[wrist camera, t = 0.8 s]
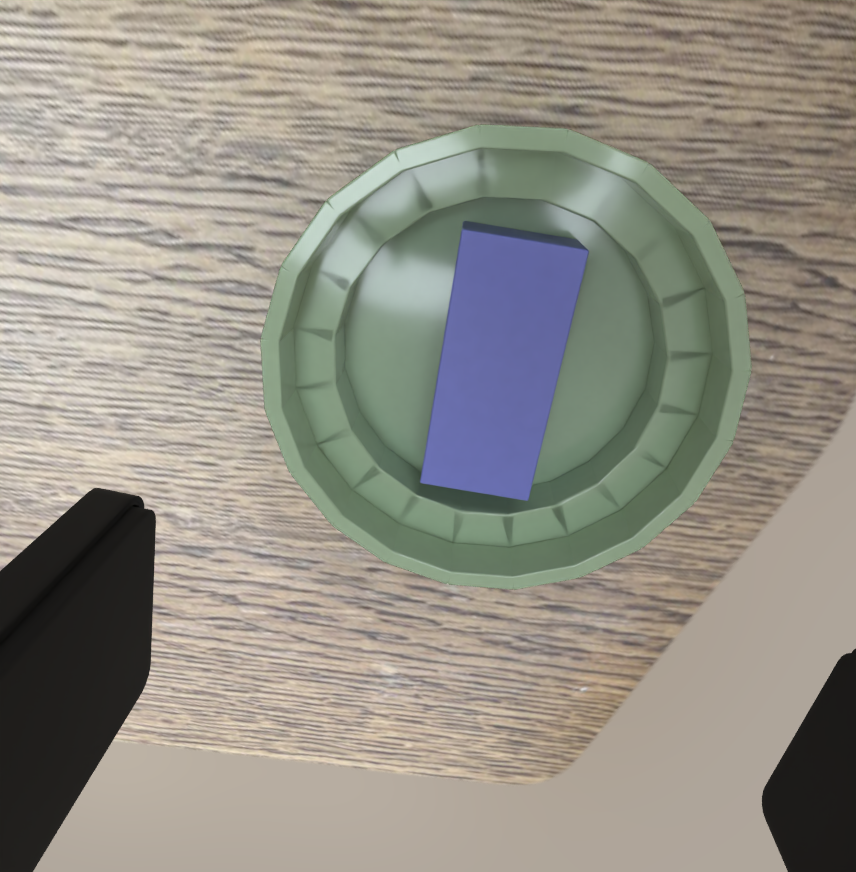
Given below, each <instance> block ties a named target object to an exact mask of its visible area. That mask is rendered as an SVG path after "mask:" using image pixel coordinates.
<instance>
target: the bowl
mask: <svg viewBox="0 0 856 872" xmlns="http://www.w3.org/2000/svg"><path fill="white" fill-rule="evenodd" d="M463 221H469V222H475V223H481V224H487V225H493V226H499V227H506V228H512V229H518V230H524V231H530V232H536V233H542V234H548V235H554V236H560V237H566V238H572V239H577V240H579V241H580V242H581V243H582V244H583V245H584V246H585V247H586V248H587V249H588V250H589V254H588V258H587V262H586V266H585V270H584V274H583V278H582V283H581V287H580V291H579V295H578V299H577V303H576V307H575V311H574V315H573V319H572V323H571V328H570V332H569V336H568V340H567V344H566V348H565V352H564V356H563V360H562V364H561V369H560V373H559V377H558V381H557V385H556V389H555V393H554V397H553V401H552V405H551V410H550V414H549V418H548V422H547V426H546V430H545V434H544V438H543V442H542V446H541V451H540V455H539V459H538V463H537V467H536V471H535V475H534V479H533V483H532V487H531V492H530V496H529V499H528V501H525V500H519V499H513V498H507V497H501V496H495V495H489V494H483V493H477V492H471V491H465V490H459V489H453V488H447V487H441V486H435V485H429V484H423V483H420V478H421V472H422V466H423V460H424V454H425V448H426V442H427V436H428V430H429V424H430V418H431V412H432V405H433V399H434V393H435V387H436V381H437V375H438V369H439V363H440V357H441V351H442V345H443V339H444V333H445V326H446V320H447V314H448V308H449V302H450V296H451V290H452V284H453V278H454V272H455V266H456V260H457V254H458V248H459V241H460V235H461V230H462V224H463ZM281 266H282V267H280V269H279V273H278V277H277V280H276V284H275V288H274V291H273V295H272V298H271V302H270V306H269V309H268V313H267V317H266V320H265V324H264V327H263V331H262V335H261V340H260V342H261V359H262V376H263V393H264V408H265V412H266V415H267V417H268V420H269V422H270V425H271V427H272V430H273V432H274V435H275V437H276V440H277V442H278V445H279V447H280V450H281V453H282V455H283V458H284V460H285V463H286V465H287V468H288V470H289V472H290V473H291V475H292V476H293V478H294V479H295V480H296V481H297V483H298V484H299V485H300V486H301V488H302V489H303V490H304V491H305V493H306V494H307V495H308V496H309V498H310V499H311V500H312V501H313V503H314V504H315V505H316V506H317V508H318V509H319V510H320V511H321V513H322V514H323V515H324V516H325V518H326V519H327V520H328V521H329V522H330V524H332V526H333V527H335V528H336V529H338V530H339V531H340V532H342V533H343V534H345V535H346V536H348V537H349V538H350V539H352V540H353V541H355V542H356V543H358V544H359V545H360V546H362V547H363V548H365V549H366V550H368V551H369V552H371V553H372V554H373V555H375V556H376V557H378V558H379V559H381V560H382V561H383V562H386V563H388V564H391V565H394V566H396V567H399V568H402V569H405V570H408V571H411V572H413V573H416V574H419V575H422V576H425V577H428V578H430V579H433V580H436V581H439V582H442V583H445V584H447V583H448V584H449V585H460V586H473V587H485V588H498V589H511V590H512V589H514V590H516V589H522V588H527V587H533V586H538V585H544V584H549V583H555V582H560V581H566V580H571V579H577V578H580V577H583V576H585V575H587V574H589V573H591V572H593V571H595V570H598V569H600V568H602V567H604V566H606V565H608V564H610V563H612V562H615V561H617V560H619V559H621V558H623V557H625V556H627V555H629V554H632V553H634V552H636V551H638V550H640V549H641V547H642V548H643V547H644V546H646V545H647V544H648V543H649V542H650V541H651V540H652V539H654V538H655V537H656V536H657V535H658V534H659V533H661V532H662V531H663V530H664V529H665V528H666V527H667V526H669V525H670V524H671V523H672V522H673V521H674V520H676V519H677V518H678V517H679V516H680V515H681V514H682V513H684V512H685V511H686V510H687V509H688V508H689V507H691V506H692V505H693V504H694V502H696V501H697V499H698V498H699V496H700V494H701V493H702V491H703V490H704V488H705V487H706V485H707V483H708V482H709V480H710V479H711V477H712V475H713V474H714V472H715V471H716V469H717V468H718V466H719V464H720V463H721V461H722V460H723V458H724V457H725V455H726V453H727V452H728V450H729V449H730V447H731V445H732V444H733V441H734V438H735V434H736V430H737V426H738V423H739V419H740V415H741V411H742V407H743V403H744V399H745V395H746V391H747V387H748V383H749V379H750V375H751V368H752V364H751V353H750V342H749V331H748V320H747V309H746V298H745V294H744V290H743V288H742V285H741V283H740V281H739V279H738V277H737V275H736V273H735V271H734V269H733V267H732V265H731V263H730V261H729V258H728V256H727V254H726V252H725V250H724V248H723V246H722V244H721V242H720V240H719V238H718V236H717V234H716V231H715V229H714V227H713V225H712V223H711V222H710V221H709V219H708V218H707V217H706V216H705V215H704V214H703V213H702V212H701V211H700V210H699V209H698V208H697V207H696V206H695V205H694V204H692V203H691V202H690V201H689V200H688V199H687V198H686V197H685V196H684V195H683V194H682V193H681V192H680V191H679V190H678V189H677V188H676V187H675V186H673V185H672V184H671V183H670V182H669V181H668V180H667V179H666V178H665V177H664V176H663V175H662V174H661V173H660V172H659V171H658V170H657V169H656V168H654V167H653V166H652V165H651V164H650V163H648V162H647V161H644V160H642V159H640V158H637V157H635V156H633V155H630V154H628V153H625V152H623V151H621V150H618V149H616V148H614V147H611V146H609V145H606V144H604V143H602V142H599V141H597V140H595V139H592V138H590V137H587V136H585V135H583V134H580V133H578V132H576V131H573V130H571V129H569V130H567V129H566V128H550V127H529V126H508V125H487V124H481V125H474V126H471V127H468V128H465V129H461V130H458V131H455V132H451V133H448V134H445V135H441V136H438V137H435V138H432V139H428V140H425V141H422V142H418V143H415V144H412V145H408V146H405V147H402V148H399V149H396V150H395V151H392V152H391V153H389V154H388V155H387V156H385V157H384V158H383V159H381V160H380V161H378V162H377V163H376V164H374V165H373V166H372V167H370V168H369V169H367V170H366V171H365V172H363V173H362V174H361V175H359V176H358V177H357V178H355V179H354V180H352V181H351V182H350V183H348V184H347V185H346V186H344V187H343V188H342V189H340V190H339V191H337V192H336V193H335V194H333V195H332V196H331V197H329V198H328V199H327V201H325V202H324V203H323V205H322V206H321V208H320V209H319V211H318V212H317V214H316V215H315V216H314V218H313V219H312V221H311V222H310V224H309V225H308V227H307V228H306V230H305V231H304V232H303V234H302V235H301V237H300V238H299V240H298V241H297V243H296V244H295V246H294V247H293V248H292V250H291V251H290V253H289V254H288V256H287V257H286V259H285V260H284V261H283V263H282V265H281Z"/></svg>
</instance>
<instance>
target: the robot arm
mask: <svg viewBox="0 0 856 872" xmlns="http://www.w3.org/2000/svg"><path fill="white" fill-rule="evenodd" d="M155 528H156V517H155V513H154V512H153V511H152V510H148V509H144V503H143V500H142V498H141V497H139V496H135V495H131V494H126V493H121V492H116V491H111V490H106V489H101V488H94V489H92V490H91V491H89V492H88V493H87V494H86V495H85V496H84V497H82V498H81V499H80V500H79V501H78V502H77V503H76V504H75V505H74V506H72V507H71V508H70V509H69V510H68V511H67V512H66V513H65V514H63V515H62V516H61V517H60V518H59V519H58V520H57V521H56V522H55V523H53V524H52V525H51V526H50V527H49V528H48V529H47V530H46V531H45V532H43V533H42V534H41V535H40V536H39V537H38V538H37V539H36V540H34V541H33V542H32V543H31V544H30V545H29V546H28V547H27V548H26V549H24V550H23V551H22V552H21V553H20V554H19V555H18V556H17V557H16V558H14V559H13V560H12V561H11V562H10V563H9V564H8V565H7V566H5V567H4V568H3V569H2V570H1V571H0V872H33V870H34V869H35V867H36V866H37V864H38V862H39V861H40V859H41V857H42V856H43V854H44V852H45V851H46V849H47V847H48V846H49V844H50V842H51V841H52V839H53V837H54V836H55V834H56V833H57V831H58V829H59V828H60V826H61V824H62V823H63V821H64V819H65V818H66V816H67V815H68V813H69V811H70V810H71V808H72V806H73V805H74V803H75V801H76V800H77V798H78V796H79V795H80V793H81V792H82V790H83V788H84V787H85V785H86V783H87V782H88V780H89V778H90V777H91V775H92V773H93V772H94V770H95V769H96V767H97V765H98V764H99V762H100V760H101V759H102V757H103V756H104V754H105V752H106V751H107V749H108V747H109V745H110V744H111V742H112V741H113V739H114V737H115V736H116V734H117V733H118V731H119V729H120V728H121V726H122V724H123V723H124V721H125V719H126V718H127V716H128V714H129V713H130V711H131V710H132V708H133V706H134V705H135V703H136V701H137V700H138V698H139V696H140V695H141V693H142V691H143V689H144V687H145V684H146V682H147V678H148V675H149V671H150V664H151V639H152V611H153V583H154V556H155ZM762 807H763V813H764V816H765V819H766V822H767V824H768V826H769V829H770V831H771V833H772V836H773V838H774V840H775V843H776V845H777V847H778V849H779V852H780V854H781V856H782V859H783V861H784V863H785V866H786V868H787V870H788V872H856V649H854V650H853V652H852V653H848V654H845V655H843V656H842V657H841V658H840V659H839V661H838V662H837V664H836V666H835V667H834V669H833V671H832V673H831V674H830V676H829V678H828V679H827V681H826V683H825V685H824V686H823V688H822V690H821V691H820V693H819V695H818V697H817V698H816V700H815V702H814V703H813V705H812V707H811V708H810V710H809V712H808V714H807V715H806V717H805V719H804V720H803V722H802V724H801V726H800V727H799V729H798V731H797V733H796V734H795V736H794V738H793V740H792V741H791V743H790V745H789V746H788V748H787V750H786V751H785V753H784V755H783V756H782V758H781V760H780V762H779V764H778V765H777V767H776V769H775V770H774V772H773V774H772V775H771V777H770V779H769V781H768V782H767V784H766V786H765V788H764V790H763V795H762Z"/></svg>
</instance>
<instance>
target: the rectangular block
mask: <svg viewBox="0 0 856 872" xmlns="http://www.w3.org/2000/svg"><path fill="white" fill-rule="evenodd" d="M588 254H589V250H588V249H587V248H586V247H585V246H584V245H583V244H582V243H581V242H580V241H579V240H577V239H572V238H566V237H560V236H554V235H548V234H542V233H536V232H530V231H524V230H518V229H512V228H506V227H499V226H493V225H487V224H481V223H475V222H469V221H463V224H462V230H461V235H460V241H459V248H458V254H457V260H456V266H455V272H454V278H453V284H452V290H451V296H450V302H449V308H448V314H447V320H446V326H445V333H444V339H443V345H442V351H441V357H440V363H439V369H438V375H437V381H436V387H435V393H434V399H433V405H432V412H431V418H430V424H429V430H428V436H427V442H426V448H425V454H424V460H423V466H422V472H421V478H420V483H423V484H429V485H435V486H441V487H447V488H453V489H459V490H465V491H471V492H477V493H483V494H489V495H495V496H501V497H507V498H513V499H519V500H525V501H528V499H529V496H530V492H531V487H532V483H533V479H534V475H535V471H536V467H537V463H538V459H539V455H540V451H541V446H542V442H543V438H544V434H545V430H546V426H547V422H548V418H549V414H550V410H551V405H552V401H553V397H554V393H555V389H556V385H557V381H558V377H559V373H560V369H561V364H562V360H563V356H564V352H565V348H566V344H567V340H568V336H569V332H570V328H571V323H572V319H573V315H574V311H575V307H576V303H577V299H578V295H579V291H580V287H581V283H582V278H583V274H584V270H585V266H586V262H587V258H588Z"/></svg>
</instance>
